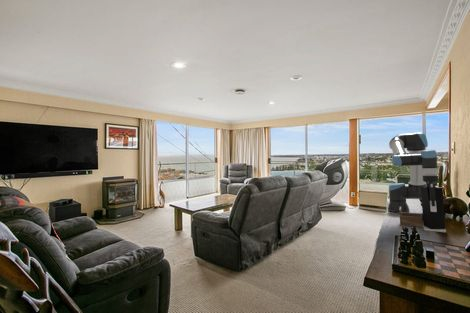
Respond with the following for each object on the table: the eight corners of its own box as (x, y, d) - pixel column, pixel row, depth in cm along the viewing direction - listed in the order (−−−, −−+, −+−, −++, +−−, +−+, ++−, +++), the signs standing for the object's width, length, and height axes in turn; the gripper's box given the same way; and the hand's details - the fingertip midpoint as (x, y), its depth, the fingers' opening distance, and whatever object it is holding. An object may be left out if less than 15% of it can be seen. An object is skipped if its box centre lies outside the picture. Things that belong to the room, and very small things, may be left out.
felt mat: (423, 226, 153) (423, 224, 153) (444, 228, 147) (444, 226, 147) (424, 230, 145) (424, 228, 145) (446, 232, 139) (446, 230, 139)
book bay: (400, 220, 169) (399, 206, 170) (422, 222, 162) (420, 207, 163) (400, 224, 159) (399, 209, 160) (422, 226, 152) (421, 211, 153)
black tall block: (445, 229, 141) (442, 182, 142) (430, 229, 143) (427, 182, 144) (437, 225, 149) (434, 181, 150) (423, 225, 151) (419, 181, 151)
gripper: (421, 174, 159) (424, 205, 159) (423, 176, 139) (426, 212, 139) (436, 173, 155) (438, 206, 154) (440, 176, 135) (443, 214, 134)
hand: (432, 209), depth 146 cm, fingers open, 13 cm apart
